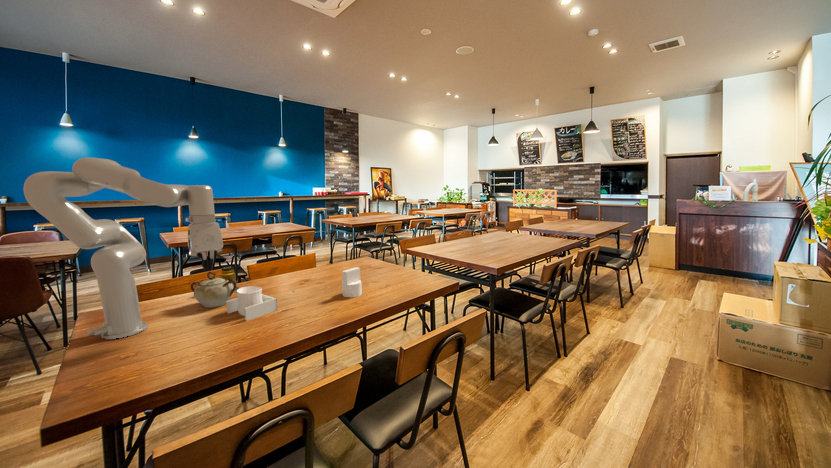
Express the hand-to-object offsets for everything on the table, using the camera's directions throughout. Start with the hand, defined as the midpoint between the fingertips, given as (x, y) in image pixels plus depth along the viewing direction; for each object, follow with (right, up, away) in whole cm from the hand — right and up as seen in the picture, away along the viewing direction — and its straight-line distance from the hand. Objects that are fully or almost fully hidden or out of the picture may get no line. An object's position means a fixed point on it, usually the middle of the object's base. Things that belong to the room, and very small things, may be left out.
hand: (208, 269), depth 119 cm
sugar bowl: (-12, -18, +24) cm, 32 cm away
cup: (+8, -20, +15) cm, 26 cm away
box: (+8, -19, +15) cm, 26 cm away
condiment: (-16, -16, +43) cm, 48 cm away
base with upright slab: (+46, -16, +35) cm, 60 cm away
